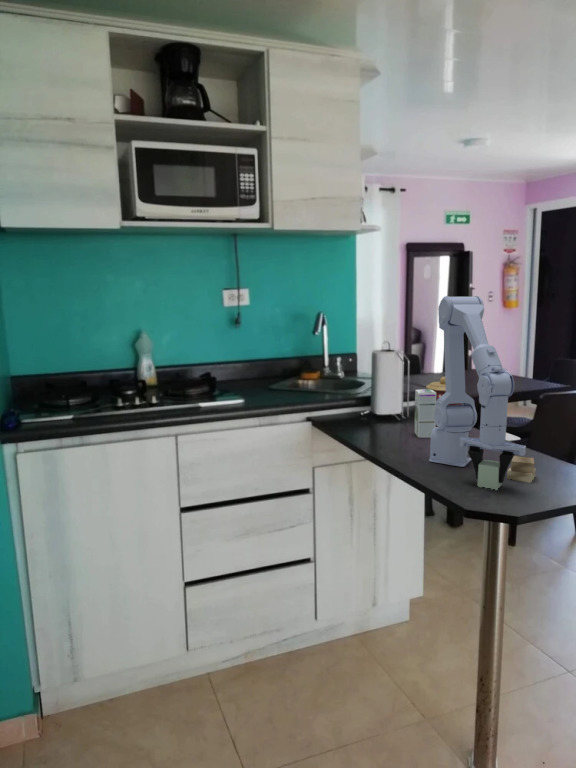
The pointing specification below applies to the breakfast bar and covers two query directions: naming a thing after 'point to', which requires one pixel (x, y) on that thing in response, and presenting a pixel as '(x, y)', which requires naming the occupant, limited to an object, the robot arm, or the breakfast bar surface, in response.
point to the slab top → (522, 464)
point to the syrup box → (424, 412)
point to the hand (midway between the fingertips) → (489, 479)
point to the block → (489, 474)
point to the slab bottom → (521, 476)
